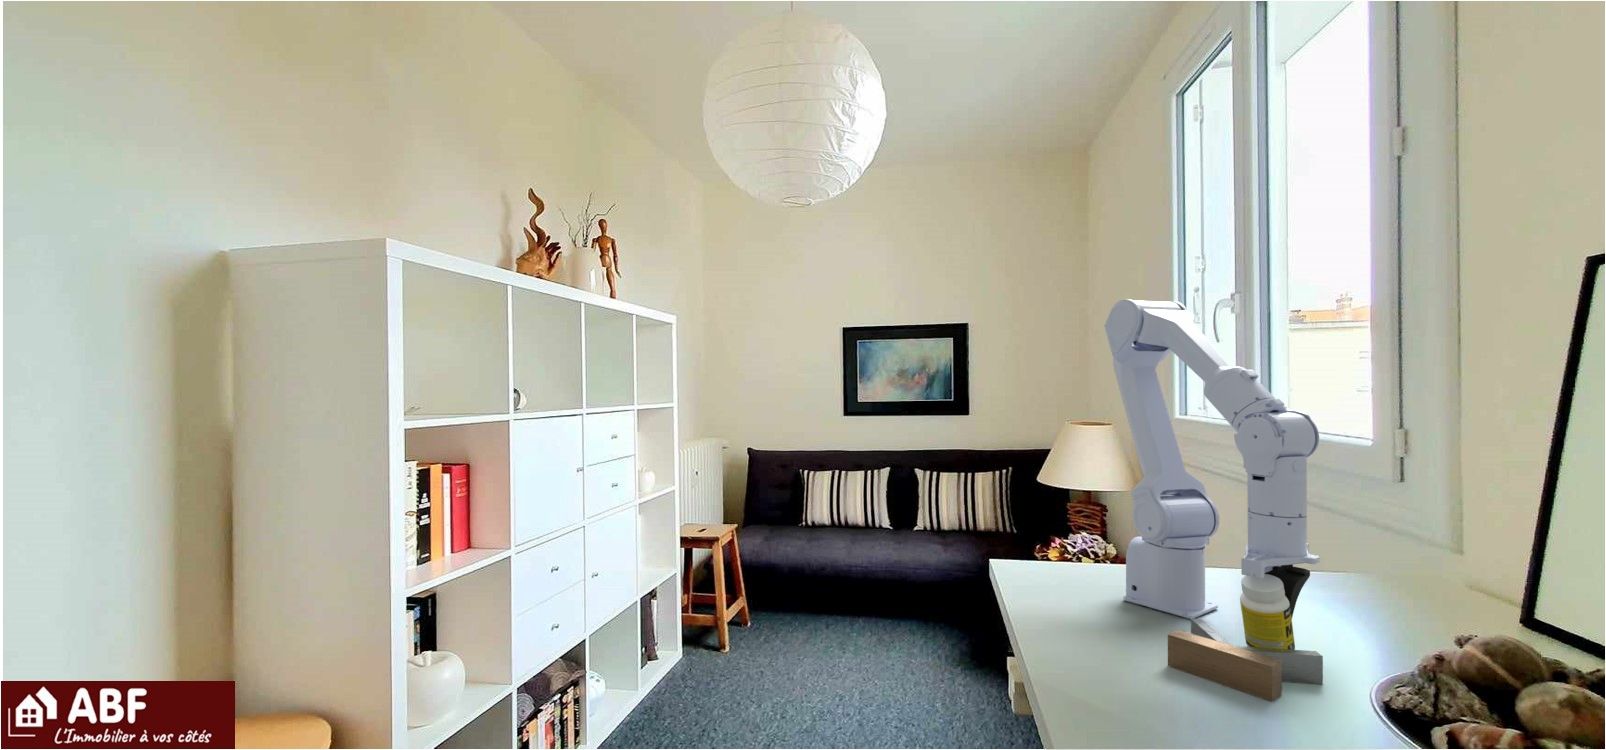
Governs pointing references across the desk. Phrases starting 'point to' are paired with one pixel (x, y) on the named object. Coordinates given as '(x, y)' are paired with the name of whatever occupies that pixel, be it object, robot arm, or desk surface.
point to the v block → (1241, 662)
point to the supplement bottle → (1266, 613)
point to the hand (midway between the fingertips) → (1277, 627)
